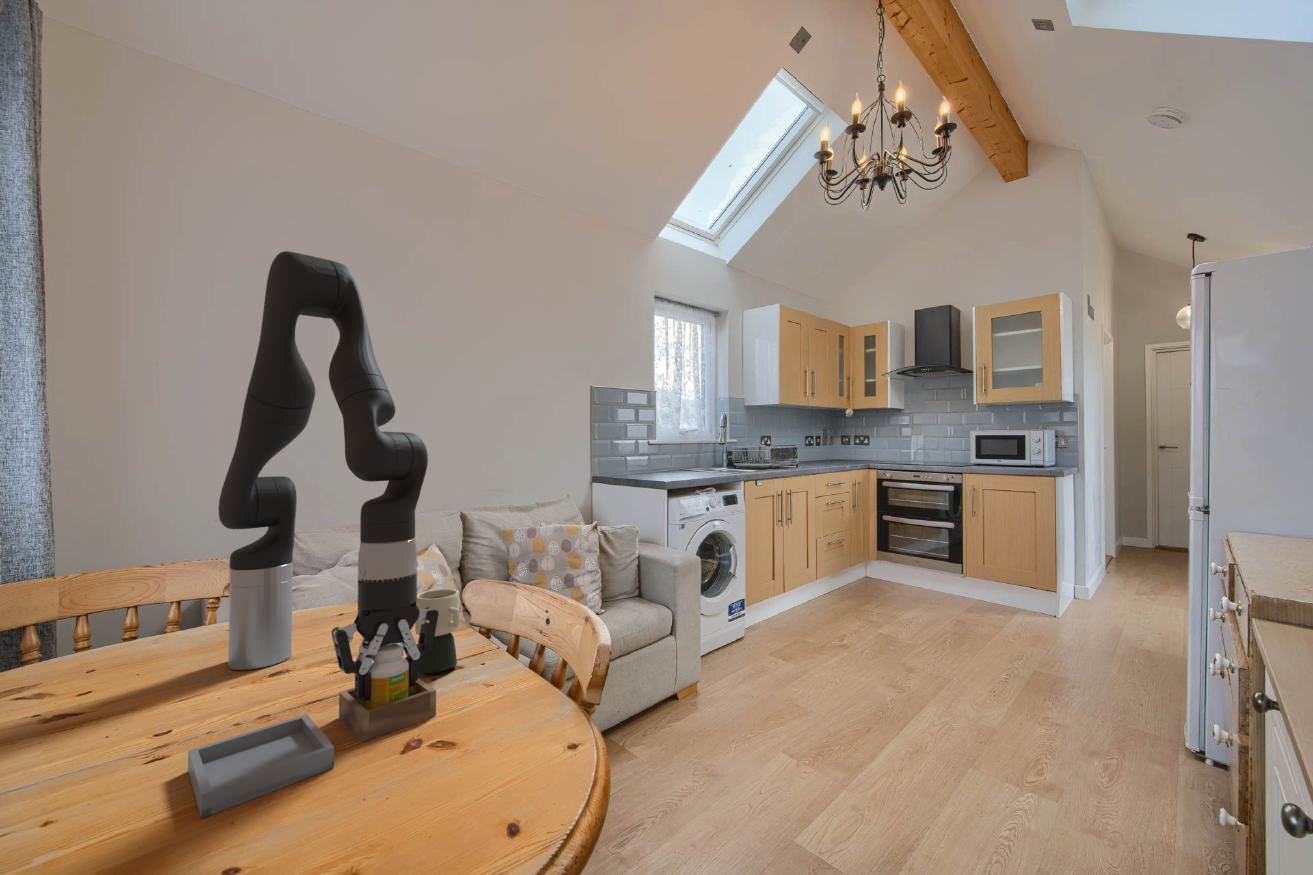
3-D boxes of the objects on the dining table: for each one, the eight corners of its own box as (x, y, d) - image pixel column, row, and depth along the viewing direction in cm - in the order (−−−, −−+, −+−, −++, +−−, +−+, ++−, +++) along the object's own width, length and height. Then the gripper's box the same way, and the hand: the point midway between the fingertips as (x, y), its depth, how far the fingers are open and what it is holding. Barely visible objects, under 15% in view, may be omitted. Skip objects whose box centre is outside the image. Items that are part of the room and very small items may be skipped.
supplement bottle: (391, 727, 72) (391, 655, 73) (356, 724, 73) (357, 652, 74) (416, 709, 78) (417, 641, 78) (384, 706, 79) (384, 639, 79)
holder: (339, 717, 75) (339, 692, 75) (408, 694, 82) (409, 671, 82) (362, 742, 69) (362, 714, 69) (436, 715, 76) (436, 690, 76)
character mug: (475, 669, 92) (475, 593, 92) (439, 684, 86) (439, 603, 86) (435, 657, 98) (435, 585, 98) (399, 670, 92) (399, 594, 92)
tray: (187, 771, 63) (188, 750, 63) (306, 732, 71) (307, 713, 71) (201, 818, 54) (201, 794, 55) (334, 767, 63) (334, 747, 63)
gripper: (427, 560, 84) (427, 669, 83) (322, 576, 74) (321, 701, 73) (449, 567, 79) (448, 683, 78) (339, 585, 68) (338, 719, 68)
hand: (387, 691), depth 76 cm, fingers closed on supplement bottle, 5 cm apart
